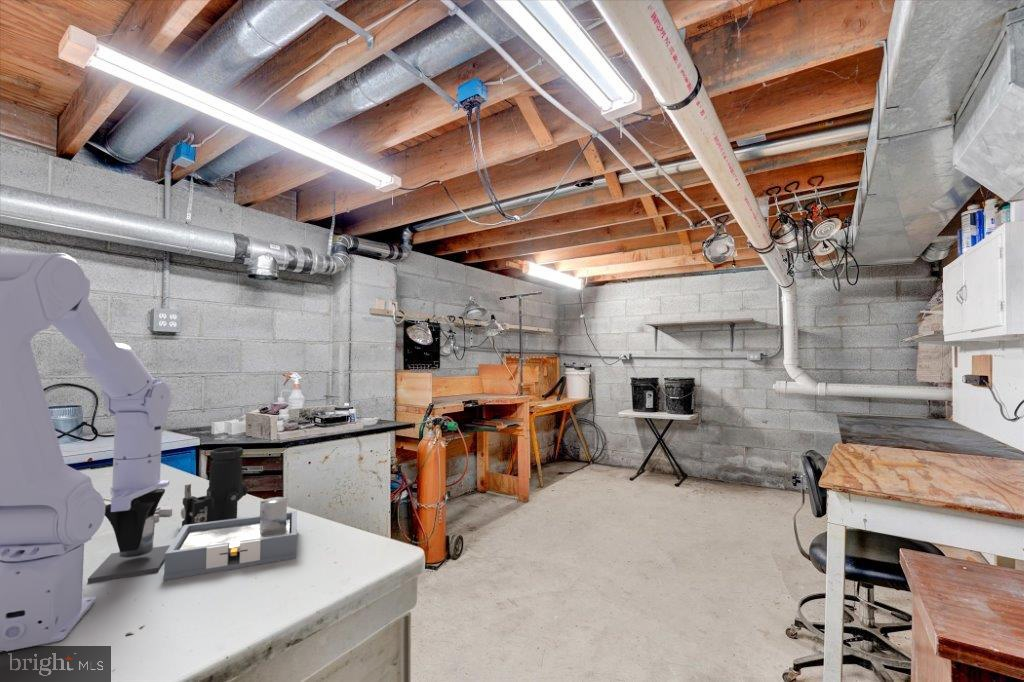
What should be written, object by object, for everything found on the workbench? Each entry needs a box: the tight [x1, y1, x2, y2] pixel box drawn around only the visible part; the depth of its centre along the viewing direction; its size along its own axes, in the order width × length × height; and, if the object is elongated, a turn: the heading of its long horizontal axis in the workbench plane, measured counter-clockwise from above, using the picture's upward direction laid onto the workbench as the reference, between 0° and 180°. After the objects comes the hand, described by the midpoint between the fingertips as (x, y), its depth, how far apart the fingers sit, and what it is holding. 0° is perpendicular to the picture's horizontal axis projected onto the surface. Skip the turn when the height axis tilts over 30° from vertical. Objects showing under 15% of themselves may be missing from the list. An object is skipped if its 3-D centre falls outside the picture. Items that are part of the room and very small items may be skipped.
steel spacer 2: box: [259, 496, 288, 535], centre depth 76 cm, size 4×4×5 cm
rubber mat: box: [87, 544, 171, 584], centre depth 69 cm, size 9×8×1 cm
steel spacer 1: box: [118, 515, 156, 558], centre depth 70 cm, size 4×4×5 cm
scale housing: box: [162, 510, 298, 581], centre depth 74 cm, size 13×17×4 cm
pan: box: [180, 519, 290, 556], centre depth 73 cm, size 12×15×1 cm
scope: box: [180, 446, 249, 528], centre depth 87 cm, size 8×14×10 cm
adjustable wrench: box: [103, 497, 173, 523], centre depth 94 cm, size 25×6×2 cm, turn 63°
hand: (134, 544), depth 70 cm, fingers closed on steel spacer 1, 4 cm apart
